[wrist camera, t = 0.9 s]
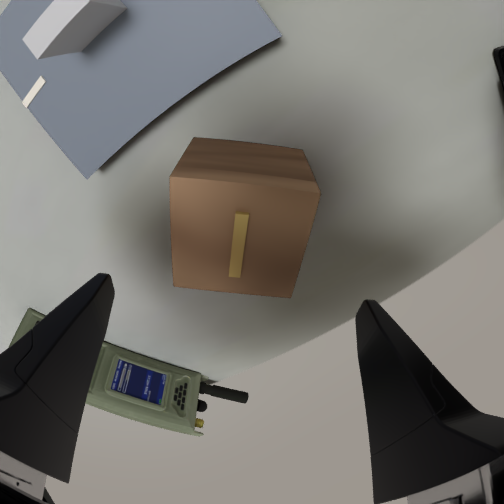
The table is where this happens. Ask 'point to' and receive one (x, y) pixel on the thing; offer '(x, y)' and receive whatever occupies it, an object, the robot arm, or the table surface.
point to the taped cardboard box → (240, 217)
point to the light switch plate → (118, 62)
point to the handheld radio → (145, 387)
